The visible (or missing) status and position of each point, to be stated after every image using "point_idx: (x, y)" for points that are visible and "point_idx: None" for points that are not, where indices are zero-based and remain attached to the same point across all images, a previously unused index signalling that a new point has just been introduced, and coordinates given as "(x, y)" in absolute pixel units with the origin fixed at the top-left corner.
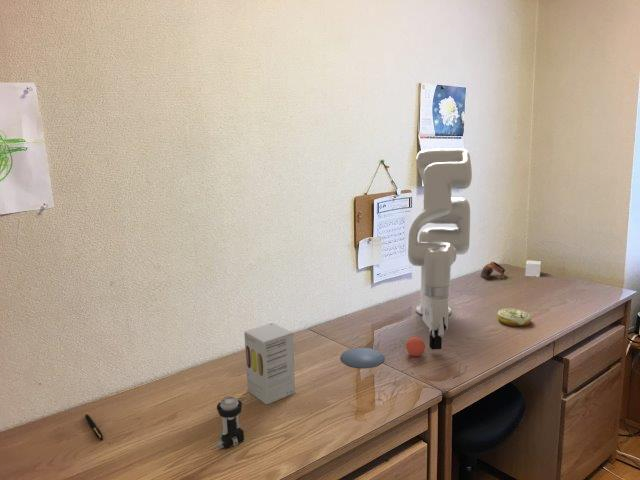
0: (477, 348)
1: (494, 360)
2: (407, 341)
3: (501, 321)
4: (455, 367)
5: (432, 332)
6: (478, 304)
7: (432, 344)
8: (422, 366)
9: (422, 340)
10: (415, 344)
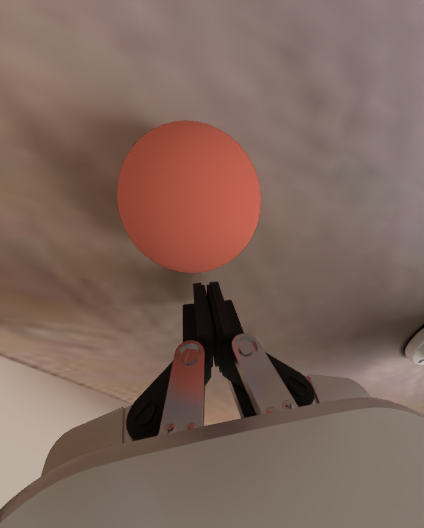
0: (212, 377)
1: (140, 395)
2: (216, 136)
3: None
4: (73, 322)
5: (195, 378)
6: (396, 391)
7: (194, 304)
8: (47, 196)
9: (193, 271)
10: (121, 196)
